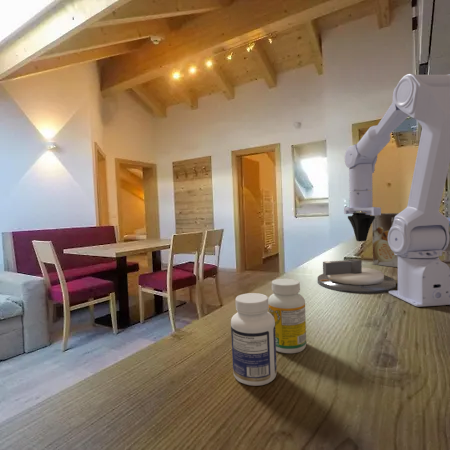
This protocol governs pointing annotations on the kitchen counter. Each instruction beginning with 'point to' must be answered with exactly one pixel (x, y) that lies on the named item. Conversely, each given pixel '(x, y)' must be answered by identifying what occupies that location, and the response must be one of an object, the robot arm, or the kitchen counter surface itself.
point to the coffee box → (383, 240)
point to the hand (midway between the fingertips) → (361, 241)
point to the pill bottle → (253, 340)
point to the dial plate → (374, 288)
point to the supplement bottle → (288, 315)
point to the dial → (351, 272)
